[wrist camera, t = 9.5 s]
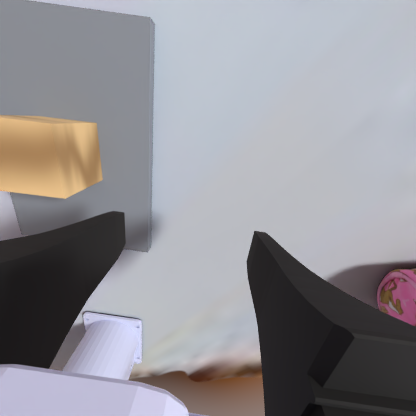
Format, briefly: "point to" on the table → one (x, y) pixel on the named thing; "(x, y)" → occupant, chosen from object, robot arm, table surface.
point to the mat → (84, 104)
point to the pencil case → (399, 295)
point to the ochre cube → (48, 155)
